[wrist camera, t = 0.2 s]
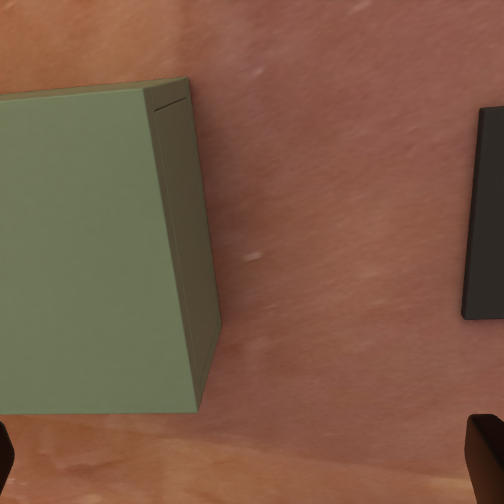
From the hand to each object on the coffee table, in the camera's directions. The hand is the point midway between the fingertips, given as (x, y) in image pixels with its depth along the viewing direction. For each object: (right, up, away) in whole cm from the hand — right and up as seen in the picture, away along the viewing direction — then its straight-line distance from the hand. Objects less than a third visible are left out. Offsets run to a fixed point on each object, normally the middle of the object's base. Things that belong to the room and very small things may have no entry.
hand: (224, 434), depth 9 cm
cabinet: (-8, +5, +15) cm, 18 cm away
